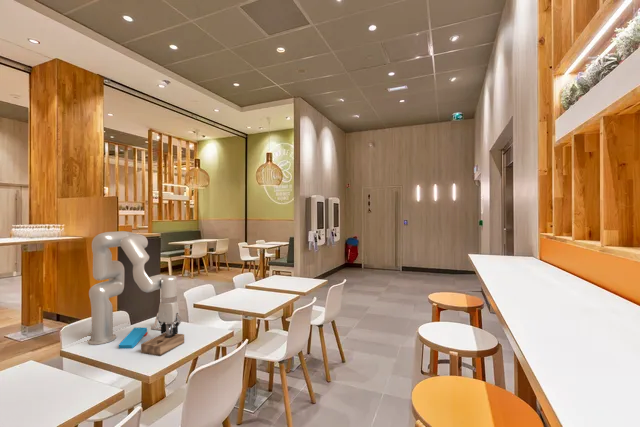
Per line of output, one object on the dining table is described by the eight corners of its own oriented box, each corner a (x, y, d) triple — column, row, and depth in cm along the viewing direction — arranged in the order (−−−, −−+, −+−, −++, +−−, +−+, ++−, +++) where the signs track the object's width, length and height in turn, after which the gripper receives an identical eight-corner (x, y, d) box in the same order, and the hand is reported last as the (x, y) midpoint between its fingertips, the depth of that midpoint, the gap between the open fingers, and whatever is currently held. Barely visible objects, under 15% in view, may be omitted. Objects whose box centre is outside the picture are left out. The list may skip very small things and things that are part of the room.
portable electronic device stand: (150, 329, 184) (150, 315, 184) (161, 325, 191) (160, 311, 191) (162, 331, 181) (162, 317, 181) (172, 326, 189) (172, 312, 189)
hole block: (141, 353, 153) (141, 343, 153) (166, 340, 168) (166, 332, 168) (160, 356, 149) (160, 346, 149) (184, 342, 164) (184, 334, 164)
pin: (164, 344, 161) (164, 324, 161) (169, 341, 164) (168, 322, 164) (169, 344, 160) (169, 325, 160) (173, 342, 163) (173, 323, 163)
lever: (134, 356, 159) (152, 333, 177) (131, 345, 157) (150, 323, 175) (120, 356, 159) (140, 334, 177) (118, 345, 158) (138, 323, 175)
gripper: (150, 300, 161) (150, 334, 161) (177, 302, 156) (177, 338, 156) (161, 296, 168) (161, 329, 168) (187, 299, 163) (188, 332, 163)
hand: (169, 333), depth 162 cm, fingers open, 6 cm apart
